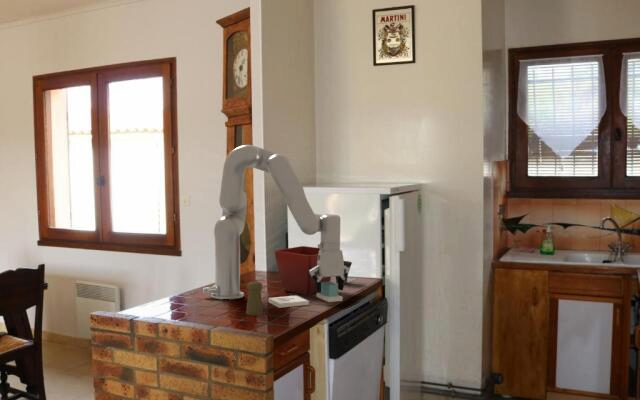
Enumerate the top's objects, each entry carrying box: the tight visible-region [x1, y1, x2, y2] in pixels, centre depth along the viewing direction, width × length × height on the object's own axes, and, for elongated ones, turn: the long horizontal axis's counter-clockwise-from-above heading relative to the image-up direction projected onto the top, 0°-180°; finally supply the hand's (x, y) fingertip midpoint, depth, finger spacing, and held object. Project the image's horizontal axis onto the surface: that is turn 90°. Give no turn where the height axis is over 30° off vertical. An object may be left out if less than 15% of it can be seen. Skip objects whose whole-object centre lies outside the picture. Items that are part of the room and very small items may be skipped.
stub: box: [316, 280, 343, 303], centre depth 226 cm, size 6×10×6 cm, turn 28°
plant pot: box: [274, 245, 332, 295], centre depth 242 cm, size 19×19×17 cm
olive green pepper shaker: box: [245, 280, 264, 316], centre depth 203 cm, size 6×6×11 cm
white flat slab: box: [268, 294, 310, 309], centre depth 219 cm, size 12×10×2 cm
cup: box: [335, 260, 353, 285], centre depth 260 cm, size 9×9×10 cm
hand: (329, 290), depth 226 cm, fingers open, 9 cm apart
